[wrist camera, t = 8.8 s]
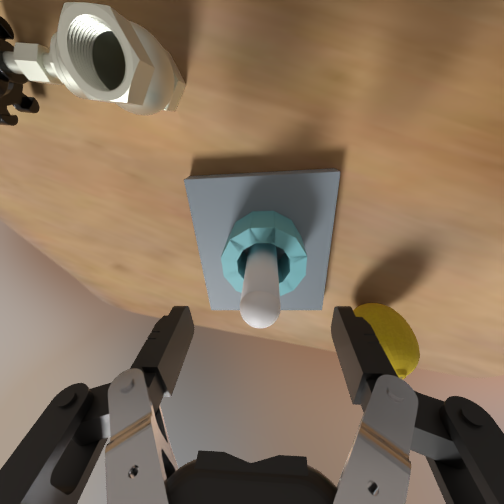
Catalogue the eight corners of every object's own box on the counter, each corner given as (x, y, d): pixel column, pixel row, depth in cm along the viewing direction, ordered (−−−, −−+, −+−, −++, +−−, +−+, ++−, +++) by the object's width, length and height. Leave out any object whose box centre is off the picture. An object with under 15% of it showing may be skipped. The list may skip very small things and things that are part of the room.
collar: (302, 209, 18) (309, 226, 14) (298, 273, 21) (304, 298, 18) (224, 212, 18) (216, 228, 15) (232, 274, 21) (227, 298, 18)
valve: (185, 20, 14) (1, 6, 14) (125, -59, 8) (-187, -80, 8) (192, 137, 17) (43, 125, 17) (154, 142, 11) (-69, 123, 11)
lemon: (333, 294, 24) (361, 363, 17) (388, 282, 22) (442, 350, 15) (342, 327, 26) (369, 399, 19) (391, 318, 25) (439, 391, 18)
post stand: (335, 168, 17) (410, 211, 8) (318, 300, 24) (350, 403, 15) (189, 176, 18) (112, 222, 9) (214, 300, 25) (183, 397, 16)
